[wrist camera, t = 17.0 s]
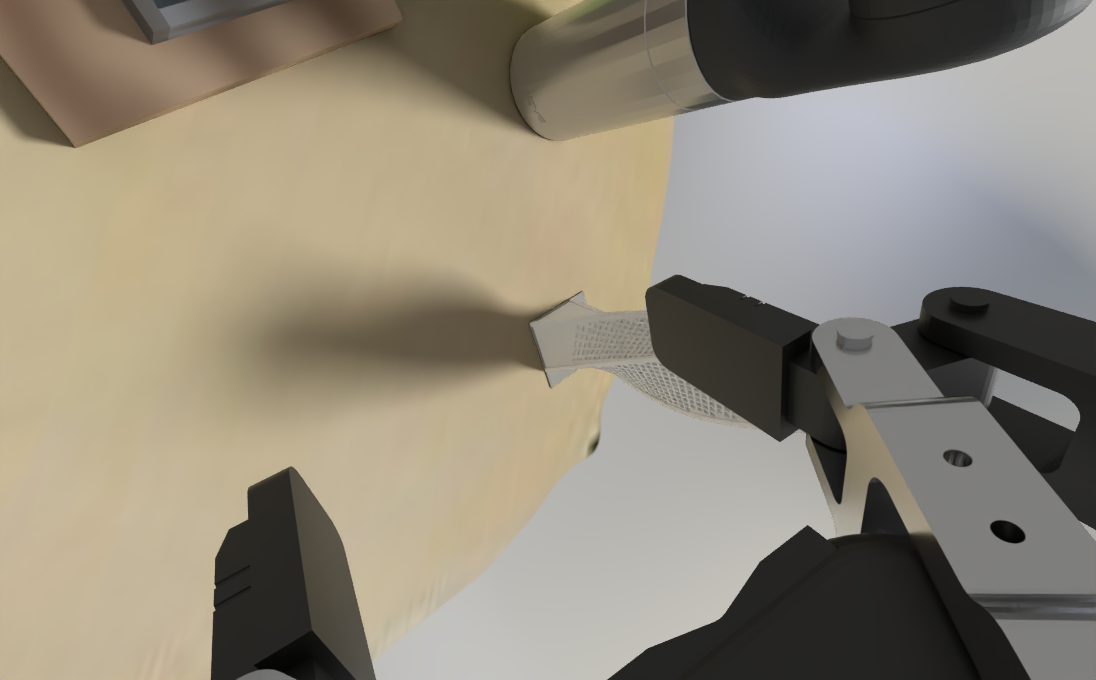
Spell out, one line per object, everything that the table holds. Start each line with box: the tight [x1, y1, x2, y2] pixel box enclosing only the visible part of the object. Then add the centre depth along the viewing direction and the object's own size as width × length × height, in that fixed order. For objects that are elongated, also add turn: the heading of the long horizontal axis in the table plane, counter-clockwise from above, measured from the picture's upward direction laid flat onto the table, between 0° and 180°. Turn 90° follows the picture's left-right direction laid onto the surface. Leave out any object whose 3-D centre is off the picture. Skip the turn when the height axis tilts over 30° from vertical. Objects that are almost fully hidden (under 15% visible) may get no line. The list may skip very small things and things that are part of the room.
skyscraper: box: [529, 291, 806, 434], centre depth 39 cm, size 8×8×28 cm
